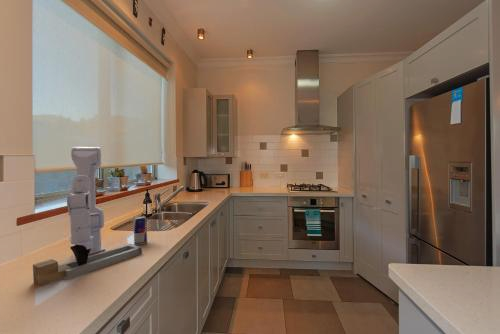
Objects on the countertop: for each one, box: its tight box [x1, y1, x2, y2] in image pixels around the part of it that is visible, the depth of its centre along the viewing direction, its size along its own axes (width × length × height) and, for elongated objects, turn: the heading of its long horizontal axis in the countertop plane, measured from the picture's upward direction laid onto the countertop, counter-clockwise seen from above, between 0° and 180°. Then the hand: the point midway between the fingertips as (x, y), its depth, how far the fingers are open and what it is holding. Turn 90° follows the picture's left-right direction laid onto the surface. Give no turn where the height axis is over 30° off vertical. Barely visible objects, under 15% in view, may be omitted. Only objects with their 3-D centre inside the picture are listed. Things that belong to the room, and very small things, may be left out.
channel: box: [58, 243, 143, 280], centre depth 95 cm, size 9×26×2 cm, turn 145°
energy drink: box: [132, 215, 148, 246], centre depth 116 cm, size 5×5×12 cm
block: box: [32, 258, 72, 288], centre depth 82 cm, size 4×9×6 cm, turn 148°
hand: (82, 265), depth 89 cm, fingers closed
